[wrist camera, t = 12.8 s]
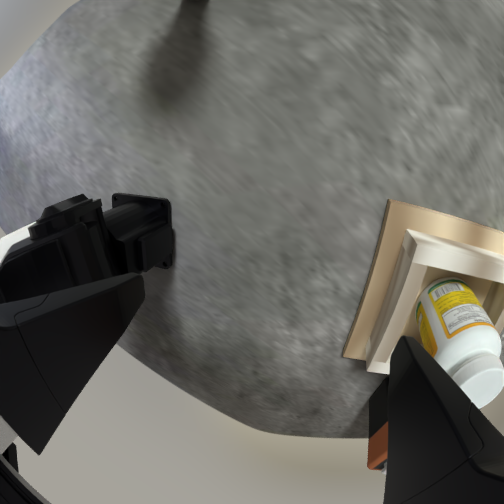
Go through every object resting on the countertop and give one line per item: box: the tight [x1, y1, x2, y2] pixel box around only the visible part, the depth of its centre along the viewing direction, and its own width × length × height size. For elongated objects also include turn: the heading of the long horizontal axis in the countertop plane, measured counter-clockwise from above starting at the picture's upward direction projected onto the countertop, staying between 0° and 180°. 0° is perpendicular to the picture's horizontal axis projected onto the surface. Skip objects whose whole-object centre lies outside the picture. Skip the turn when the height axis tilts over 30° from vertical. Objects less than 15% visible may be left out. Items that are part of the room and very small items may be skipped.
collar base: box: [343, 199, 504, 374], centre depth 18 cm, size 14×14×4 cm
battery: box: [367, 377, 389, 475], centre depth 20 cm, size 4×7×10 cm, turn 79°
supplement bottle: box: [415, 277, 504, 409], centre depth 14 cm, size 5×5×10 cm
